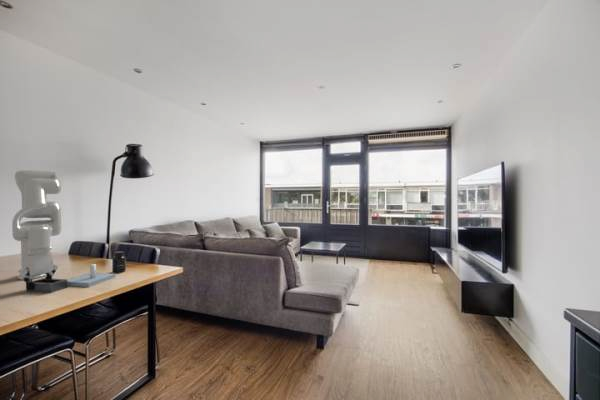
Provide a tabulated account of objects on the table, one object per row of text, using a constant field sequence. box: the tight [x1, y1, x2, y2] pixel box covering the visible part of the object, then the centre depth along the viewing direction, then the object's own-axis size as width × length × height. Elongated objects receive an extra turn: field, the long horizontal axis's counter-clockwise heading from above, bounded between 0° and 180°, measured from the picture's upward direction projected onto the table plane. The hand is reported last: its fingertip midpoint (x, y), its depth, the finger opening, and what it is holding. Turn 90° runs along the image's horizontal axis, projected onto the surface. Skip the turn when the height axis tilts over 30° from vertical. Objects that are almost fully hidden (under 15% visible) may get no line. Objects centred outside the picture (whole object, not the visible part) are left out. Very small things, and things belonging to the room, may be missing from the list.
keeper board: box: [67, 263, 117, 288], centre depth 142 cm, size 16×16×9 cm
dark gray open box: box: [25, 277, 68, 294], centre depth 129 cm, size 14×8×4 cm, turn 82°
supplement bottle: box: [111, 251, 127, 274], centre depth 160 cm, size 7×7×12 cm
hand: (39, 286), depth 130 cm, fingers closed on dark gray open box, 7 cm apart
